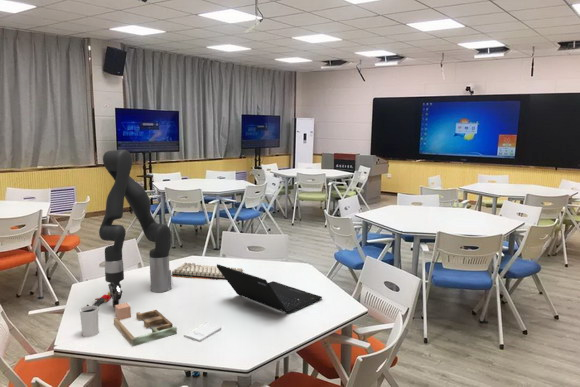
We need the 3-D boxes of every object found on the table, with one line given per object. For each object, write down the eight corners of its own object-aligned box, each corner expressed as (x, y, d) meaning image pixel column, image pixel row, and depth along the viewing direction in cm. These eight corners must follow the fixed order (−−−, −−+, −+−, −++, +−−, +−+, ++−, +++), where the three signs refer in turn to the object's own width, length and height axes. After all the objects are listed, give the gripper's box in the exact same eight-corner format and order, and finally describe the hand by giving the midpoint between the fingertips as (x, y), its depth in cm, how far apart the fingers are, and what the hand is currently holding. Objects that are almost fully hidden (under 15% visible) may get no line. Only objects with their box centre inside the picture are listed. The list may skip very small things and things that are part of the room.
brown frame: (154, 313, 189) (154, 308, 189) (176, 333, 171) (176, 327, 171) (113, 324, 179) (113, 318, 179) (132, 346, 161) (132, 339, 160)
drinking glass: (87, 329, 174) (85, 305, 173) (103, 329, 174) (101, 305, 172) (77, 336, 168) (75, 311, 166) (94, 337, 167) (92, 312, 166)
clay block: (127, 313, 189) (126, 302, 189) (130, 317, 186) (130, 306, 185) (115, 316, 186) (114, 305, 186) (118, 320, 183) (118, 309, 182)
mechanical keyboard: (245, 271, 250) (245, 265, 249) (235, 282, 231) (235, 276, 230) (182, 267, 256) (182, 261, 256) (168, 278, 238) (167, 272, 237)
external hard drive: (221, 331, 175) (199, 343, 164) (205, 326, 179) (183, 338, 169) (221, 327, 175) (199, 339, 164) (205, 322, 179) (183, 334, 168)
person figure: (86, 300, 193) (108, 286, 210) (84, 308, 193) (106, 293, 211) (96, 304, 192) (118, 290, 210) (94, 312, 193) (116, 297, 211)
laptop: (322, 300, 207) (323, 260, 204) (265, 325, 179) (265, 280, 177) (273, 283, 229) (273, 247, 226) (215, 303, 202) (214, 263, 199)
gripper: (127, 272, 188) (129, 310, 190) (118, 264, 198) (120, 301, 200) (109, 275, 183) (111, 314, 186) (101, 267, 193) (103, 304, 196)
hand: (116, 307), depth 193 cm, fingers closed
